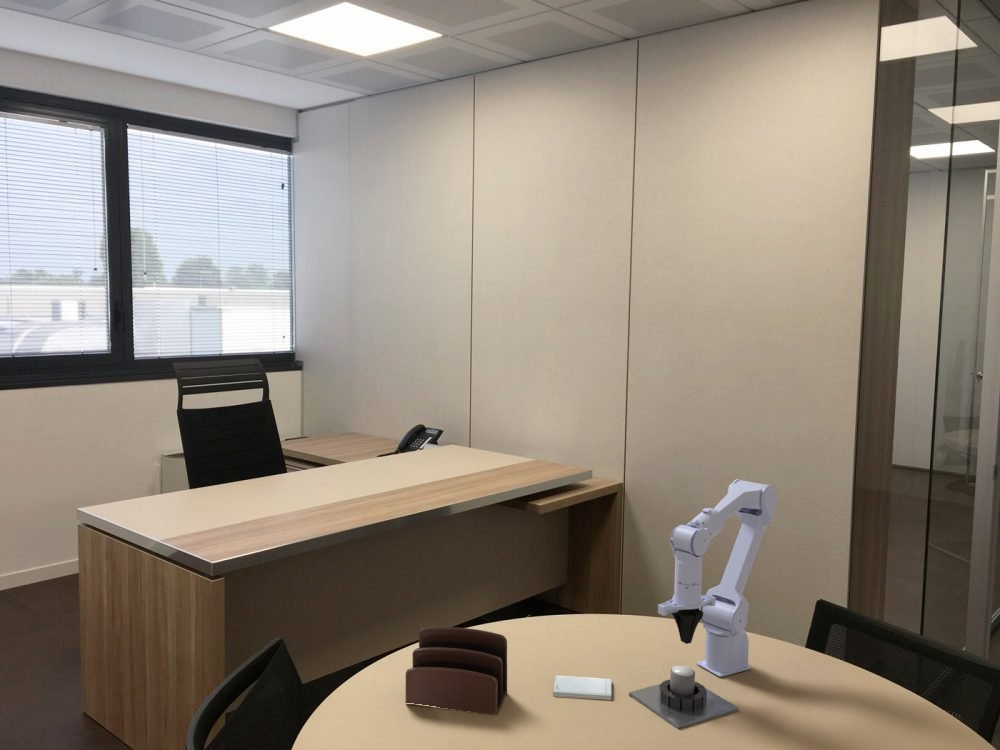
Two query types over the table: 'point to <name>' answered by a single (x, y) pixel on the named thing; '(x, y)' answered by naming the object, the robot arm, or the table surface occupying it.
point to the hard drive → (582, 687)
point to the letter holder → (458, 670)
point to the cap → (682, 681)
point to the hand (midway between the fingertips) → (685, 641)
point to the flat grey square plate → (683, 704)
